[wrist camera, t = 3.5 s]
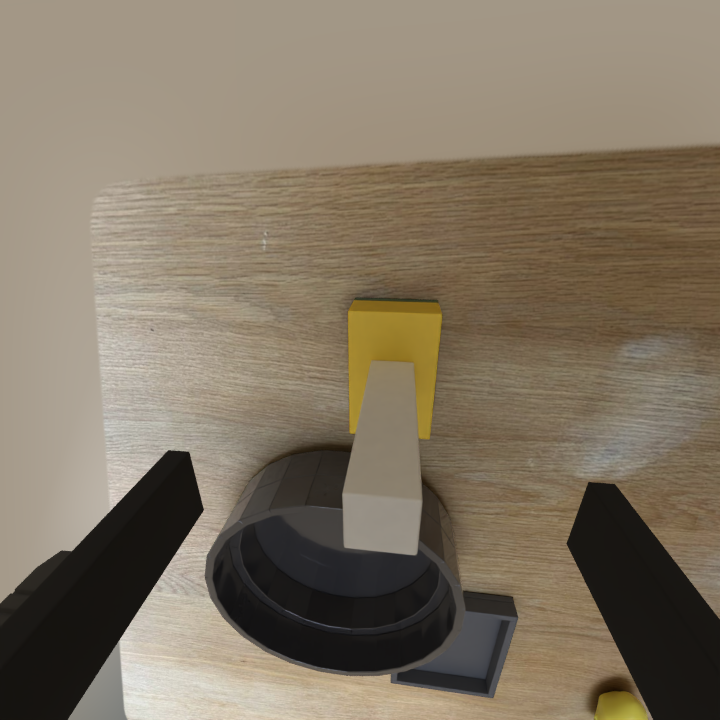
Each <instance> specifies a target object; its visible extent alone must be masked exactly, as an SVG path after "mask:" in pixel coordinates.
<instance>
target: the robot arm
mask: <svg viewBox="0 0 720 720" xmlns="http://www.w3.org/2000/svg"><path fill="white" fill-rule="evenodd" d="M203 510H204V509H203V505H202V501H201V497H200V493H199V489H198V485H197V481H196V477H195V473H194V469H193V465H192V461H191V457H190V453H189V452H185V451H171V450H168V451H167V452H166V453H165V454H164V456H163V457H162V458H161V459H160V460H159V461H158V462H157V463H156V464H155V465H154V466H153V467H152V468H151V469H150V470H149V471H148V472H147V473H146V474H145V475H144V476H143V478H142V479H141V480H140V481H139V482H138V483H137V484H136V485H135V486H134V487H133V488H132V489H131V490H130V491H129V492H128V493H127V494H126V495H125V496H124V497H123V498H122V500H121V501H120V502H119V503H118V504H117V505H116V506H115V507H114V508H113V509H112V510H111V511H110V512H109V513H108V514H107V515H106V516H105V517H104V518H103V519H102V520H101V522H100V523H99V524H98V525H97V526H96V527H95V528H94V529H93V530H92V531H91V532H90V533H89V534H88V535H87V536H86V537H85V538H84V539H83V540H82V541H81V543H80V544H79V545H78V546H77V547H76V548H75V549H74V550H73V551H72V552H71V551H60V552H59V553H57V554H56V555H54V556H53V557H51V558H50V559H48V560H47V561H46V562H44V563H43V564H41V565H40V566H38V567H37V568H36V569H35V570H34V571H33V572H32V573H31V574H30V575H29V576H28V577H27V578H26V579H25V580H24V581H23V582H22V583H21V584H20V585H19V586H18V587H17V588H16V589H15V592H14V593H13V594H10V595H9V596H8V597H7V598H5V600H3V601H2V603H0V720H68V718H69V716H70V715H71V714H72V712H73V710H74V709H75V707H76V706H77V704H78V703H79V701H80V700H81V698H82V697H83V695H84V694H85V692H86V690H87V689H88V687H89V686H90V684H91V683H92V681H93V680H94V678H95V676H96V675H97V674H98V672H99V670H100V669H101V667H102V666H103V664H104V663H105V661H106V659H107V658H108V657H109V655H110V653H111V652H112V650H113V649H114V647H115V646H116V644H117V643H118V641H119V640H120V638H121V637H122V635H123V634H124V632H125V630H126V629H127V627H128V626H129V624H130V623H131V621H132V620H133V618H134V617H135V615H136V614H137V612H138V610H139V609H140V607H141V606H142V604H143V603H144V601H145V600H146V598H147V597H148V595H149V594H150V592H151V590H152V589H153V587H154V586H155V584H156V583H157V581H158V580H159V578H160V577H161V575H162V574H163V572H164V570H165V569H166V567H167V566H168V564H169V563H170V561H171V560H172V558H173V557H174V555H175V554H176V552H177V550H178V549H179V547H180V546H181V544H182V543H183V541H184V540H185V538H186V537H187V535H188V534H189V532H190V530H191V529H192V527H193V526H194V524H195V523H196V521H197V520H198V518H199V517H200V515H201V514H202V512H203ZM567 546H568V548H569V550H570V552H571V554H572V556H573V558H574V560H575V562H576V564H577V566H578V568H579V570H580V572H581V574H582V576H583V578H584V580H585V582H586V584H587V586H588V588H589V590H590V592H591V594H592V596H593V598H594V600H595V602H596V604H597V606H598V608H599V610H600V612H601V615H602V617H603V619H604V621H605V623H606V625H607V627H608V629H609V631H610V633H611V635H612V637H613V639H614V641H615V643H616V645H617V647H618V649H619V651H620V653H621V655H622V657H623V659H624V661H625V663H626V665H627V667H628V669H629V671H630V673H631V675H632V677H633V679H634V681H635V683H636V686H637V688H638V690H639V692H640V694H641V696H642V698H643V700H644V702H645V704H646V706H647V708H648V710H649V712H650V714H651V716H652V718H653V720H720V619H719V618H718V617H717V615H716V614H715V613H714V612H713V610H712V609H711V608H710V606H709V605H708V604H707V603H706V601H705V600H704V599H703V597H702V596H701V595H700V594H699V592H698V591H697V590H696V588H695V587H694V586H693V584H692V583H691V582H690V581H689V579H688V578H687V577H686V575H685V574H684V573H683V572H682V570H681V569H680V568H679V566H678V565H677V564H676V562H675V561H674V560H673V559H672V557H671V556H670V555H669V553H668V552H667V551H666V550H665V548H664V547H663V546H662V544H661V543H660V542H659V540H658V539H657V538H656V537H655V535H654V534H653V533H652V531H651V530H650V529H649V528H648V526H647V525H646V524H645V522H644V521H643V520H642V519H641V517H640V516H639V515H638V513H637V512H636V511H635V509H634V508H633V507H632V506H631V504H630V503H629V502H628V500H627V499H626V498H625V497H624V495H623V494H622V493H621V491H620V490H619V489H618V487H617V486H616V485H615V484H606V483H593V482H589V483H588V485H587V488H586V491H585V494H584V497H583V499H582V502H581V505H580V508H579V511H578V513H577V516H576V519H575V522H574V525H573V527H572V530H571V533H570V536H569V539H568V541H567Z"/></svg>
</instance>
